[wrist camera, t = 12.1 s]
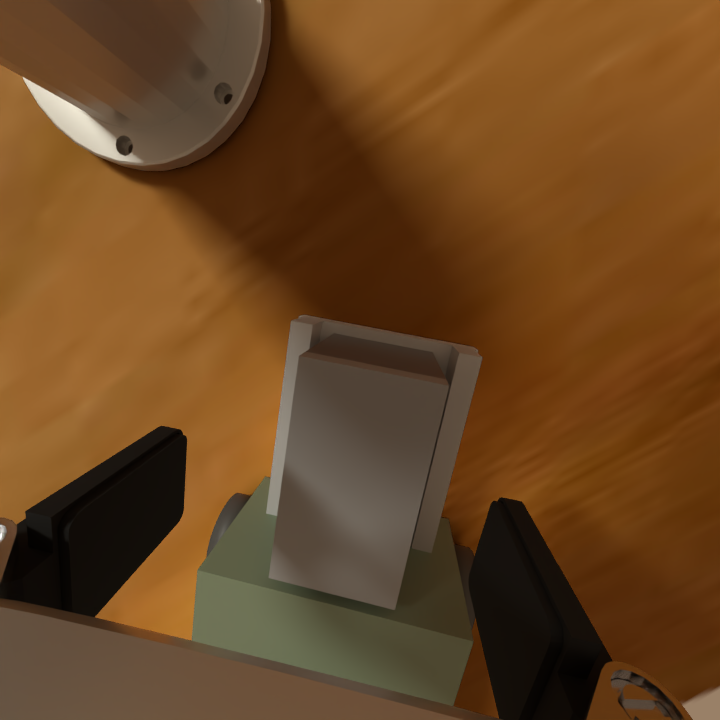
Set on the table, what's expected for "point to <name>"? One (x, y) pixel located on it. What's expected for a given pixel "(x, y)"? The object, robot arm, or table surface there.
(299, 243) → the table surface
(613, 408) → the table surface
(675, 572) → the table surface
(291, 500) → the gray rectangular block
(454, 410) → the green toy tractor
